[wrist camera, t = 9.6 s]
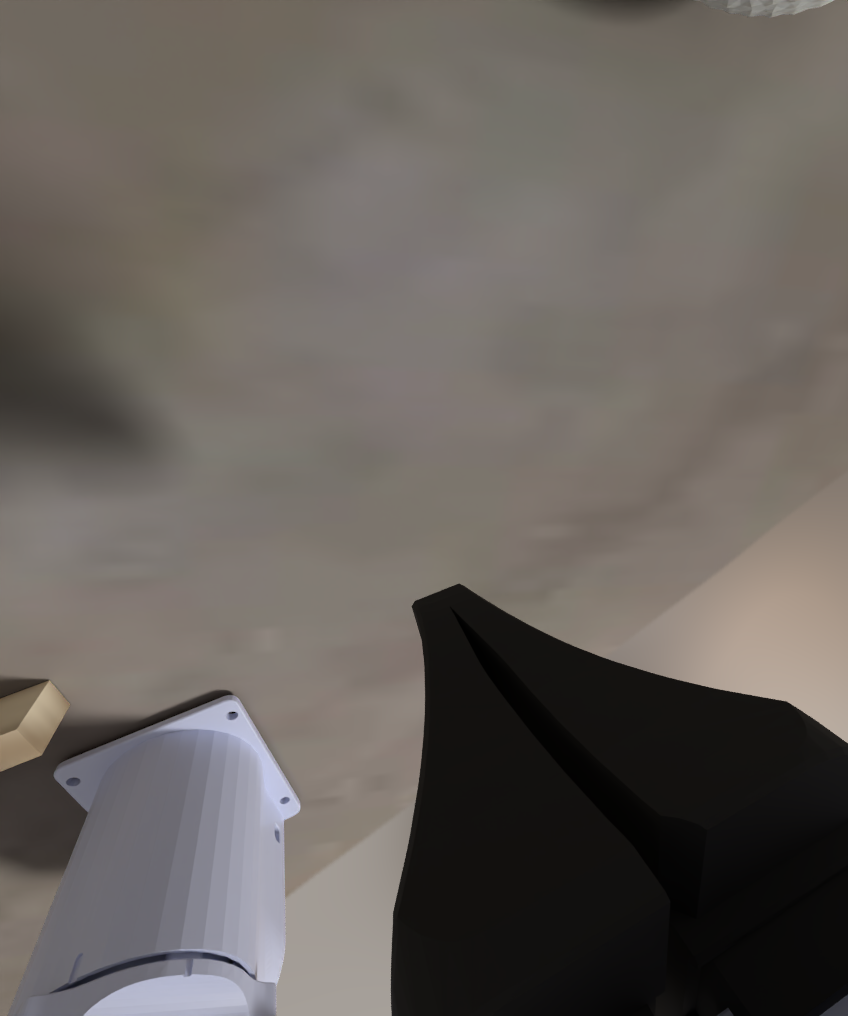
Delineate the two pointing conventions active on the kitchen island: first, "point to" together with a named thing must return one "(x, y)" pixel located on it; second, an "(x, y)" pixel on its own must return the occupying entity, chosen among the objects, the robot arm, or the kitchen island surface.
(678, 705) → the robot arm
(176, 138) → the kitchen island surface
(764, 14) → the cereal bowl
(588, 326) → the kitchen island surface
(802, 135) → the kitchen island surface
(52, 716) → the wooden bar frame
